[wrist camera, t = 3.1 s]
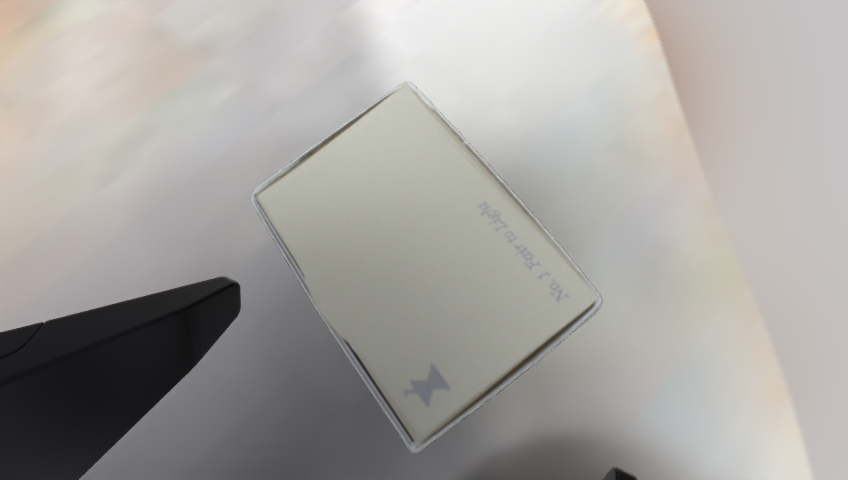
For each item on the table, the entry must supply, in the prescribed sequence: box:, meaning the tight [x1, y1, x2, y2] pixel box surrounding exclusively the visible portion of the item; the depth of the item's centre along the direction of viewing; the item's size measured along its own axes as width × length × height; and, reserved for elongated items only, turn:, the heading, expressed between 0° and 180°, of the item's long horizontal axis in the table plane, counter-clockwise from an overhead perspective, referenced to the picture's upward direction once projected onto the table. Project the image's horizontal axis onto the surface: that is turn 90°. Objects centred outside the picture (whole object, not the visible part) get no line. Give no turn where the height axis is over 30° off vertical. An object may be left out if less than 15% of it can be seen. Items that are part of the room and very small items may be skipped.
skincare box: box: [251, 82, 602, 454], centre depth 14 cm, size 6×4×12 cm
